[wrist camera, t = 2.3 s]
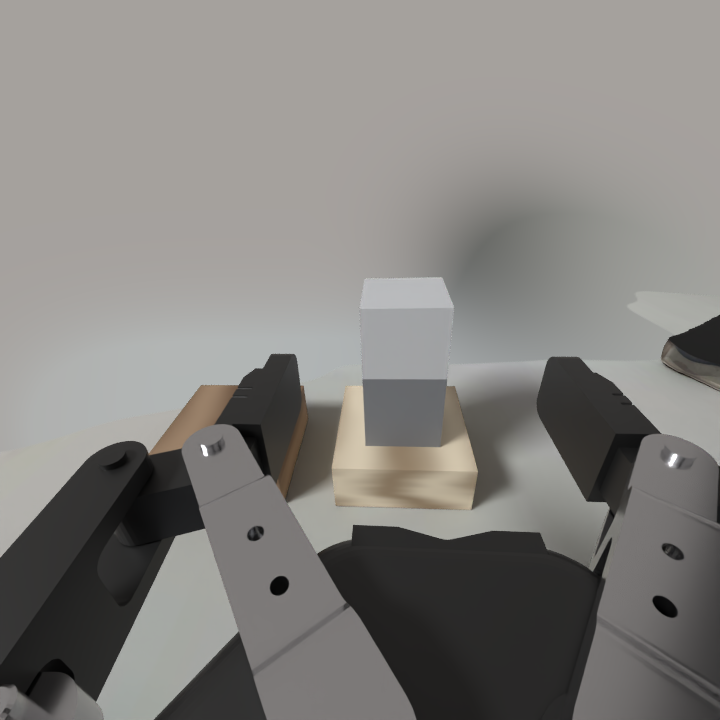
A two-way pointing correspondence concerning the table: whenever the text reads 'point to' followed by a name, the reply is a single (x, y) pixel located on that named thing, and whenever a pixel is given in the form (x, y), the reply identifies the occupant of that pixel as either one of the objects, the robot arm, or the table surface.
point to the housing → (405, 359)
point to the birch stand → (403, 463)
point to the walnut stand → (207, 411)
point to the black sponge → (696, 353)
